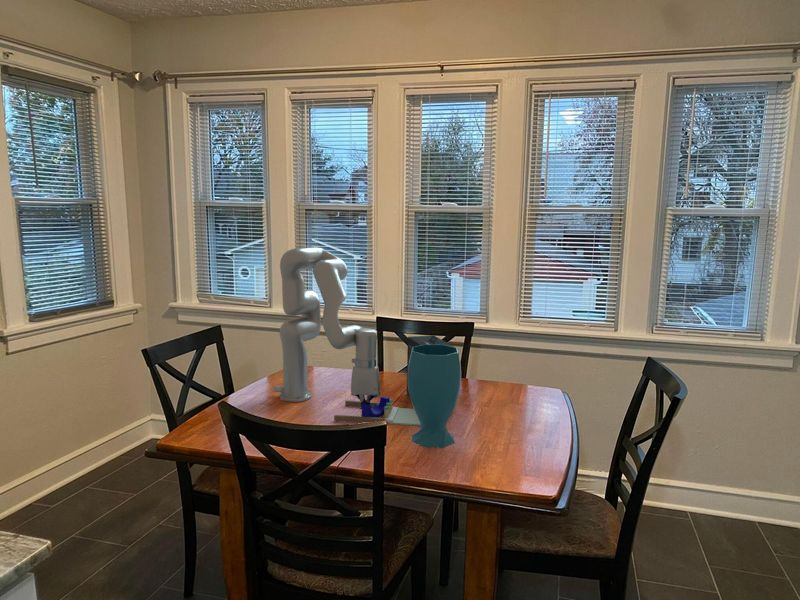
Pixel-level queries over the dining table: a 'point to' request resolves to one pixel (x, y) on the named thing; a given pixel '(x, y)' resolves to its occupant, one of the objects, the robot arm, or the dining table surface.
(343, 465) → the dining table surface
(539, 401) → the dining table surface
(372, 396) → the robot arm
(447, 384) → the vase
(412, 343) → the headset box
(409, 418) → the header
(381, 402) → the cable clip
